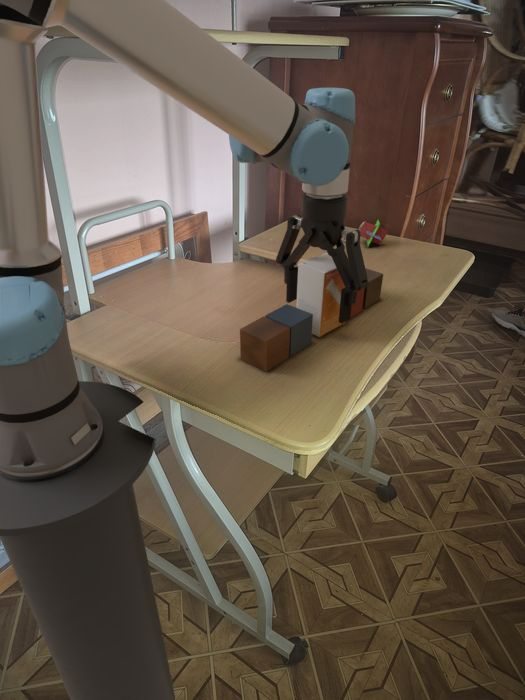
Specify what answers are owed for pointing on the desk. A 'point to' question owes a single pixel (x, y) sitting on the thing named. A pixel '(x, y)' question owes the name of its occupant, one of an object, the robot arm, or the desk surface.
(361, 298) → the cube
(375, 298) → the cube
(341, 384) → the desk surface
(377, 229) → the geometric puzzle
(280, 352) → the cube
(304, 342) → the cube
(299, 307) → the small box
